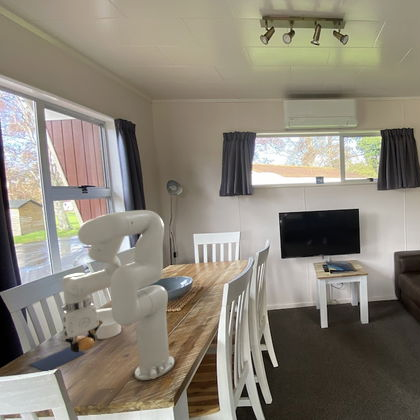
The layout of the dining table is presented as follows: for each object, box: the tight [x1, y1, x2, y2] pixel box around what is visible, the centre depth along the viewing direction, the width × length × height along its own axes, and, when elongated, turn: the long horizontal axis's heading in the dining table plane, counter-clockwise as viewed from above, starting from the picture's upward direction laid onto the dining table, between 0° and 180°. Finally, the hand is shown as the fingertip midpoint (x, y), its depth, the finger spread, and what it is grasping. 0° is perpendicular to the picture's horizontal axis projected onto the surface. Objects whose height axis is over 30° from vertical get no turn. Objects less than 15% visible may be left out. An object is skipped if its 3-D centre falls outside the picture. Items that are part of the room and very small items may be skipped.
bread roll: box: [76, 335, 95, 351], centre depth 109 cm, size 9×5×5 cm, turn 68°
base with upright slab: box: [95, 307, 122, 340], centre depth 126 cm, size 9×9×12 cm
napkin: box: [30, 347, 85, 372], centre depth 108 cm, size 12×12×1 cm
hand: (83, 347), depth 109 cm, fingers closed on bread roll, 4 cm apart
